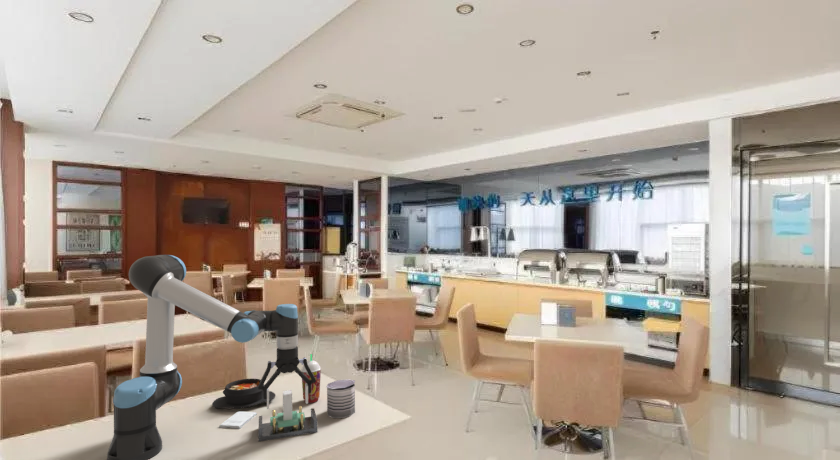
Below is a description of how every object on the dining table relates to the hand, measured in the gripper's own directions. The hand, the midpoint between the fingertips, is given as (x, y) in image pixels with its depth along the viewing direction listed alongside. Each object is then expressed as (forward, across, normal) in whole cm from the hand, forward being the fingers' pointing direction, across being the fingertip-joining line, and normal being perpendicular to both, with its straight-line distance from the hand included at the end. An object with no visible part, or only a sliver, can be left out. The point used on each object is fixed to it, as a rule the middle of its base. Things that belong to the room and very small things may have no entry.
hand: (287, 404), depth 158 cm
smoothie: (+9, +11, +26) cm, 30 cm away
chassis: (+9, 0, 0) cm, 9 cm away
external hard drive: (+10, -18, +15) cm, 25 cm away
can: (+10, +21, +9) cm, 25 cm away
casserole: (+10, -16, +33) cm, 38 cm away
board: (+6, 0, 0) cm, 6 cm away
